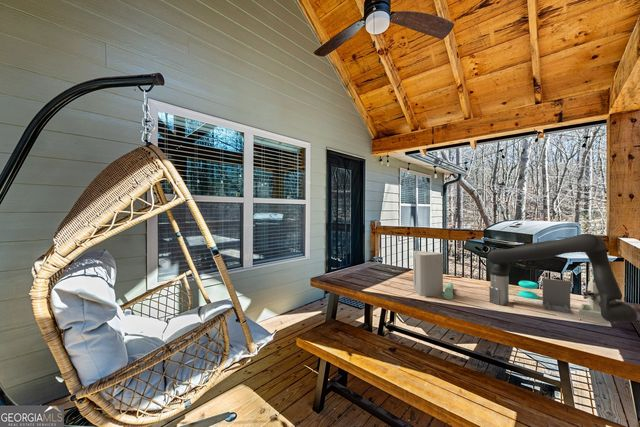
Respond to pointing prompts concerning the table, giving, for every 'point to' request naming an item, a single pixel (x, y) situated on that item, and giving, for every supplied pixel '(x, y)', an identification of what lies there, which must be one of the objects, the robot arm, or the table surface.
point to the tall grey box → (428, 273)
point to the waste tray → (590, 312)
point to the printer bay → (556, 295)
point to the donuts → (528, 286)
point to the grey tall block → (592, 303)
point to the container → (448, 291)
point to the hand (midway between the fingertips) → (596, 293)
